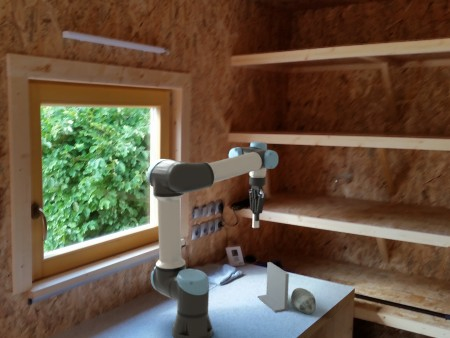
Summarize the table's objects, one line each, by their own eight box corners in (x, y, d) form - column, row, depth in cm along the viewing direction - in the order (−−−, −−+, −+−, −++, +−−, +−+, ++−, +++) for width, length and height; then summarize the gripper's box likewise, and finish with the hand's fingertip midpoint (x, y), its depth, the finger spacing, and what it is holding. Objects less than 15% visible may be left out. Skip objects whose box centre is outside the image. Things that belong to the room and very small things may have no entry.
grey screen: (275, 312, 194) (276, 275, 192) (257, 297, 209) (258, 263, 206) (287, 310, 196) (288, 273, 194) (269, 295, 211) (270, 262, 209)
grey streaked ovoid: (323, 308, 191) (312, 286, 191) (304, 320, 190) (292, 298, 190) (313, 302, 205) (302, 282, 205) (295, 313, 203) (284, 293, 203)
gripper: (271, 178, 204) (269, 230, 207) (258, 174, 216) (256, 223, 219) (256, 178, 201) (254, 231, 204) (243, 174, 213) (242, 224, 216)
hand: (255, 227), depth 212 cm, fingers closed
